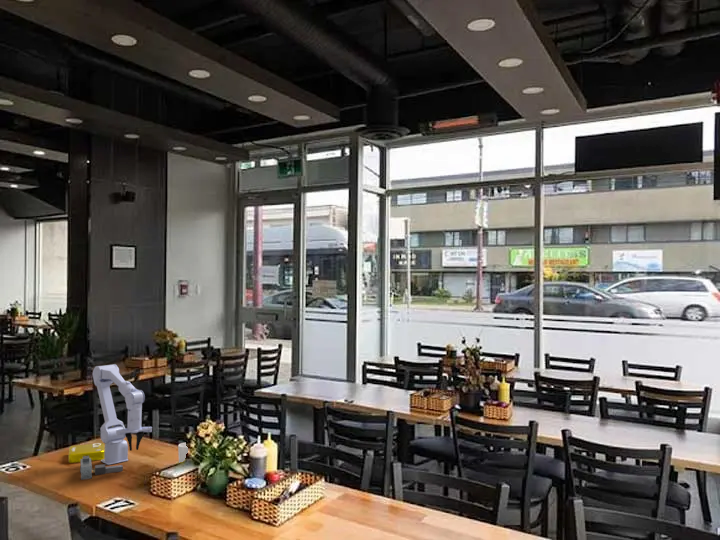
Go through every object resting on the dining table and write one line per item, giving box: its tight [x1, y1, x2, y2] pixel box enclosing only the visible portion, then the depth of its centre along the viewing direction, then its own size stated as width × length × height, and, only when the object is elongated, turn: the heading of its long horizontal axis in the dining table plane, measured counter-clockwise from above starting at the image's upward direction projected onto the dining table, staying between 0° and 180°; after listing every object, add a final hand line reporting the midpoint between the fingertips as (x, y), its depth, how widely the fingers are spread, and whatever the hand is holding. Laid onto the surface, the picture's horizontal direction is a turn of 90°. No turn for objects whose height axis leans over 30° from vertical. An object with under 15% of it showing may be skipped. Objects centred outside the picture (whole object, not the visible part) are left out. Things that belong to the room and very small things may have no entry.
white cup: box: [177, 442, 188, 464], centre depth 262 cm, size 8×8×10 cm
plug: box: [92, 463, 124, 476], centre depth 253 cm, size 12×4×3 cm, turn 117°
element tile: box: [68, 442, 105, 464], centre depth 274 cm, size 15×15×5 cm
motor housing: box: [79, 456, 93, 481], centre depth 249 cm, size 4×12×6 cm, turn 27°
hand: (133, 449), depth 258 cm, fingers open, 2 cm apart
